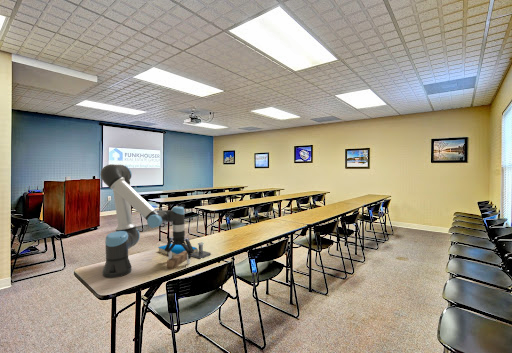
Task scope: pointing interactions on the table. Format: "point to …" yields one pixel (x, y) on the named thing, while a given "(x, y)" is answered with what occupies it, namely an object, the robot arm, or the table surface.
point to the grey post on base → (200, 252)
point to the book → (175, 249)
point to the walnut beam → (177, 260)
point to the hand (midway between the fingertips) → (179, 262)
